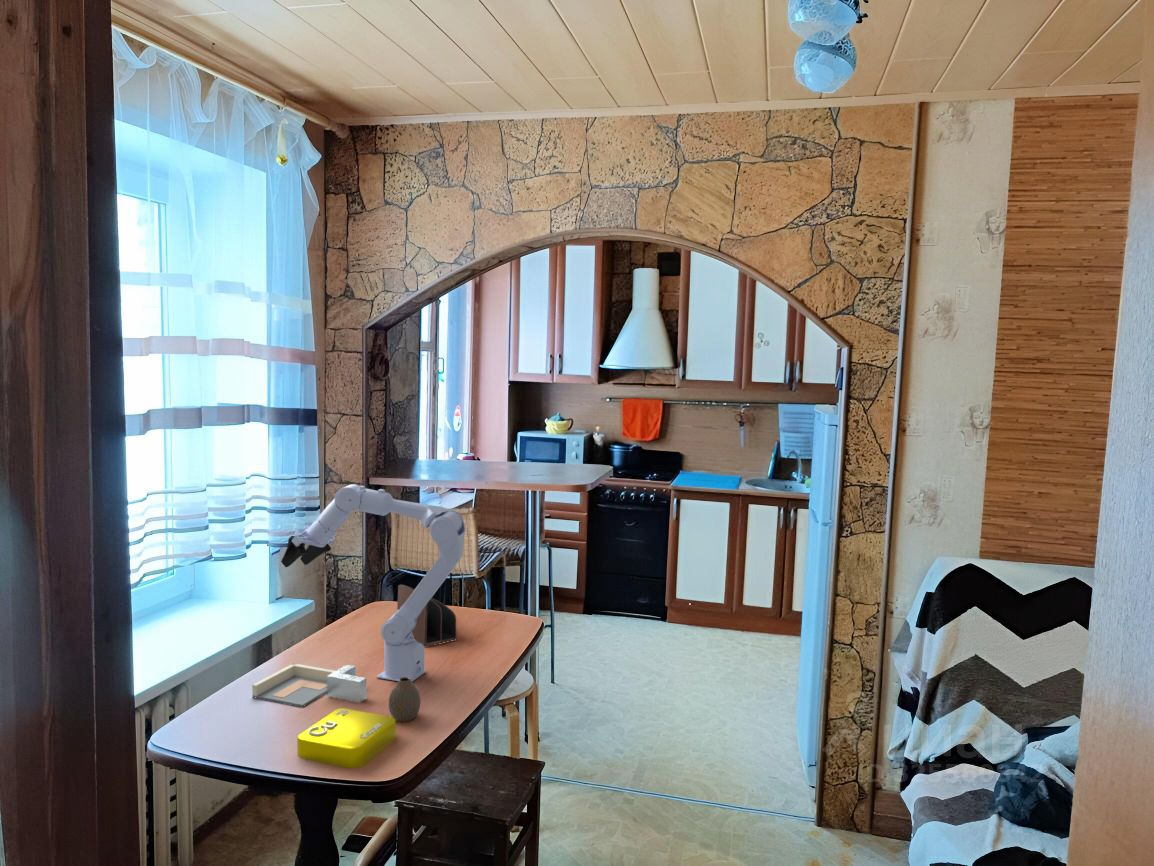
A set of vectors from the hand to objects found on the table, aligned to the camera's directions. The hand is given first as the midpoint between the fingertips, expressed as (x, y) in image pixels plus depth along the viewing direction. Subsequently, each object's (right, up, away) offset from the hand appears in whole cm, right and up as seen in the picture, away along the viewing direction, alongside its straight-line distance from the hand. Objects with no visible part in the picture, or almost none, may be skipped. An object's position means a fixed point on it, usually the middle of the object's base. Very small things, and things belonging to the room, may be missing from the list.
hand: (293, 563), depth 194 cm
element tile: (+24, -32, -36) cm, 54 cm away
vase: (+33, -30, -23) cm, 51 cm away
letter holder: (+27, -26, +30) cm, 48 cm away
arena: (+5, -28, -11) cm, 31 cm away
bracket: (+18, -29, -12) cm, 36 cm away
